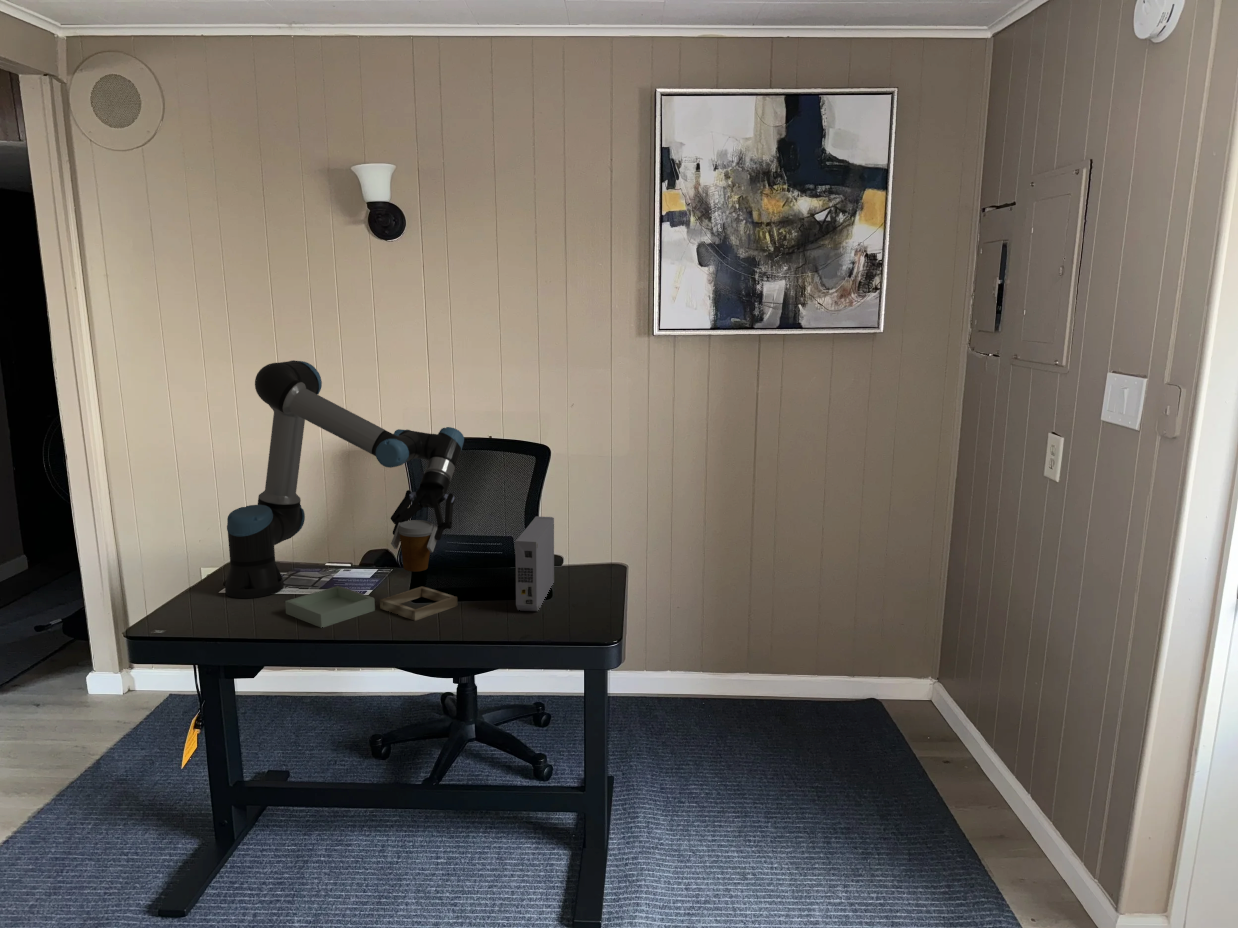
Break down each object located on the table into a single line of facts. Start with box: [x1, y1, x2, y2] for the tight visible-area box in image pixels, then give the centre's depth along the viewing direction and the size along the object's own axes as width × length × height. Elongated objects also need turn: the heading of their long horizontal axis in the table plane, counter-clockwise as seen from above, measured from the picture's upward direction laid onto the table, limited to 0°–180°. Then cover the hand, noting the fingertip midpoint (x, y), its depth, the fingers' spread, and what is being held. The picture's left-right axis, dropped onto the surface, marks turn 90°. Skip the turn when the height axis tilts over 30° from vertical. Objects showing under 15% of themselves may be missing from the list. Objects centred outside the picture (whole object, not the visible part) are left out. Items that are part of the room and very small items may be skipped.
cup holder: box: [379, 586, 458, 622], centre depth 224 cm, size 14×14×2 cm
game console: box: [514, 515, 555, 612], centre depth 231 cm, size 6×27×20 cm, turn 174°
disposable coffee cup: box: [398, 519, 434, 572], centre depth 221 cm, size 10×10×12 cm
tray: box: [284, 585, 376, 629], centre depth 219 cm, size 16×16×4 cm
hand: (411, 547), depth 218 cm, fingers closed on disposable coffee cup, 9 cm apart
